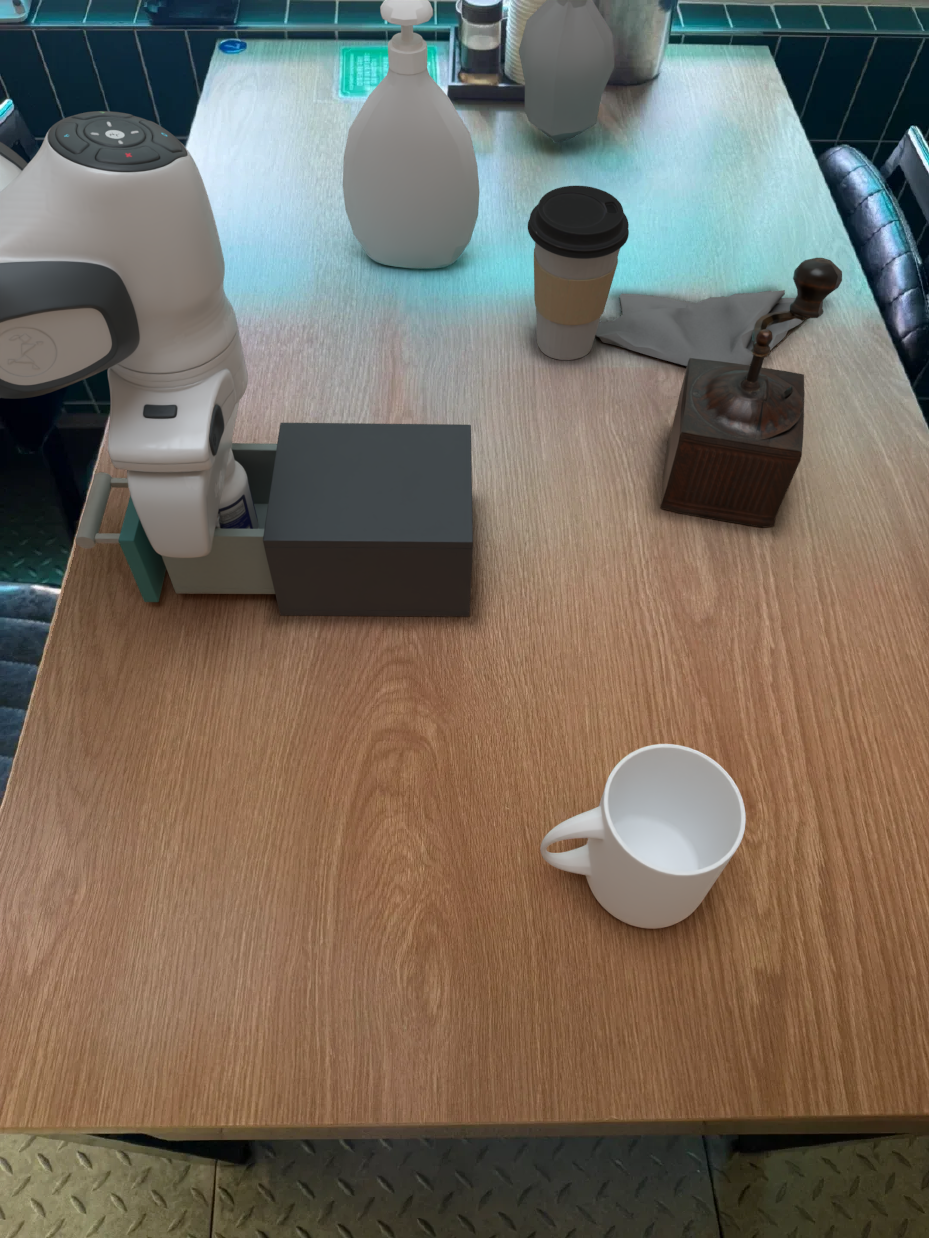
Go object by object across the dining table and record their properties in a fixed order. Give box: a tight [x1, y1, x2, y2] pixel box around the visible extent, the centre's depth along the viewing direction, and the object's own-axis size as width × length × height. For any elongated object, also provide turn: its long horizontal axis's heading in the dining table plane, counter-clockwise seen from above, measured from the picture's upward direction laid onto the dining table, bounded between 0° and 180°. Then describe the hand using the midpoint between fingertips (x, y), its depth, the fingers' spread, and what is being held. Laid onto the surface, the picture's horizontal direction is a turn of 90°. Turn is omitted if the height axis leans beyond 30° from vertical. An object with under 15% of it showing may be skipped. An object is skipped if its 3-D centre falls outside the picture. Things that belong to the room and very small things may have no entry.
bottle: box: [518, 0, 615, 144], centre depth 110 cm, size 11×11×30 cm
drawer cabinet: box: [263, 422, 474, 618], centre depth 78 cm, size 16×13×10 cm
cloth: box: [595, 289, 804, 367], centre depth 99 cm, size 26×14×2 cm, turn 93°
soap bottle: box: [342, 0, 480, 270], centre depth 96 cm, size 14×8×27 cm, turn 86°
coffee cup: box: [527, 185, 630, 361], centre depth 93 cm, size 9×9×15 cm
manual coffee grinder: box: [660, 257, 843, 528], centre depth 82 cm, size 16×11×18 cm
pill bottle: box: [218, 448, 259, 529], centre depth 75 cm, size 5×5×9 cm
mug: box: [539, 743, 747, 929], centre depth 61 cm, size 9×12×11 cm
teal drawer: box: [74, 442, 277, 603], centre depth 77 cm, size 19×11×8 cm, turn 90°
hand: (218, 502), depth 76 cm, fingers closed on pill bottle, 5 cm apart
